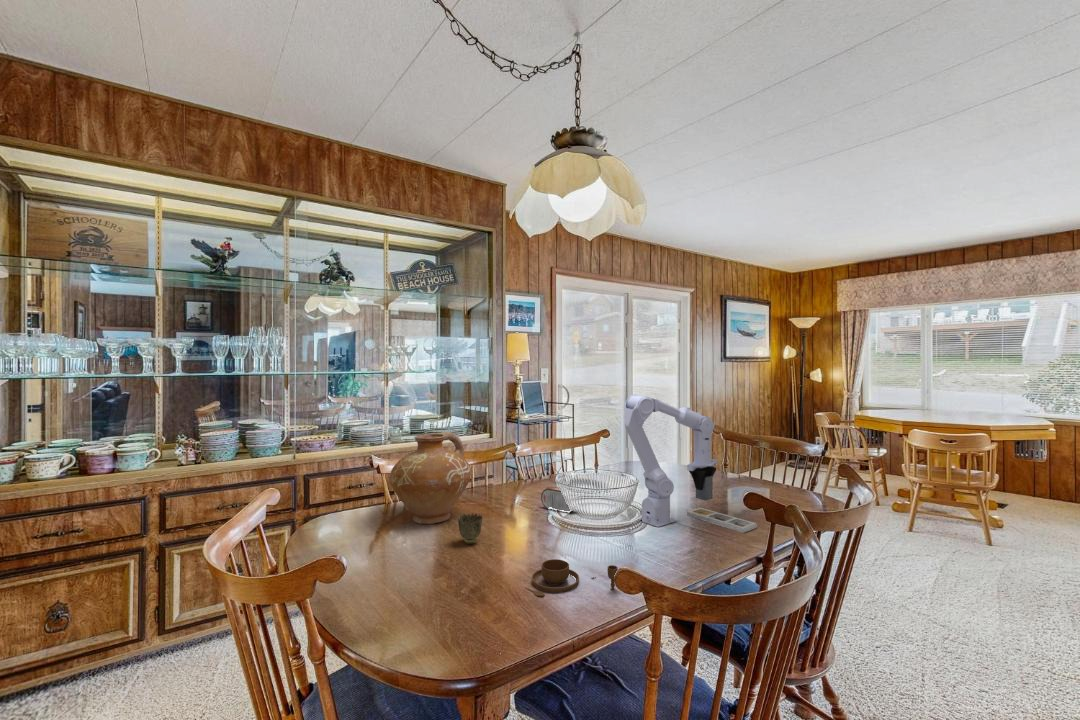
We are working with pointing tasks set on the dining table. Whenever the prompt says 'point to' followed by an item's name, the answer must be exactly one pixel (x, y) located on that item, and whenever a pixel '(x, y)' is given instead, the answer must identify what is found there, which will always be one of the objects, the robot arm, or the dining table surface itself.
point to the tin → (554, 499)
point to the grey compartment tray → (730, 523)
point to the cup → (470, 527)
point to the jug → (431, 477)
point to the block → (706, 488)
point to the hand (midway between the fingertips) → (702, 488)
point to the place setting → (561, 576)
